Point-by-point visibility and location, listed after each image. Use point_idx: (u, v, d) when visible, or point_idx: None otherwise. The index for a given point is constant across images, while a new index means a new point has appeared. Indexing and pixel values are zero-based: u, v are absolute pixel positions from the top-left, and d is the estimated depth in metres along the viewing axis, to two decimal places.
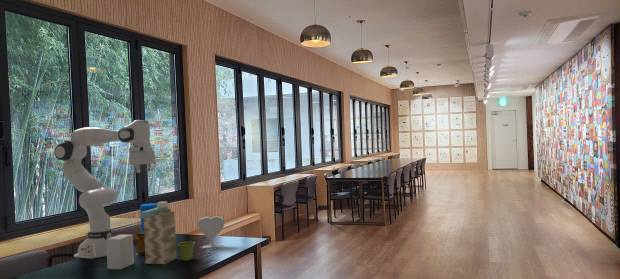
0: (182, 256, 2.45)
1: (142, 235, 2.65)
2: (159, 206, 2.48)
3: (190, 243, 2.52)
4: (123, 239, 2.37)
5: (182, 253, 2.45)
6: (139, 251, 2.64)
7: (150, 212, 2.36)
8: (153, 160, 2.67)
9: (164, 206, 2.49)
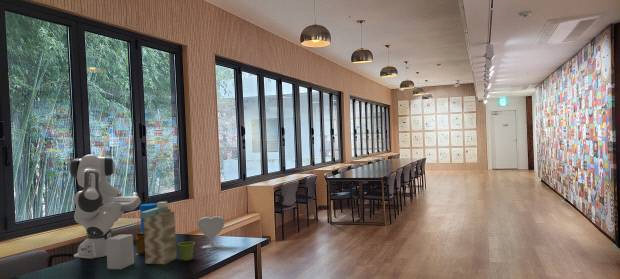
0: (182, 256, 2.45)
1: (142, 235, 2.65)
2: (159, 206, 2.48)
3: (190, 243, 2.52)
4: (123, 239, 2.37)
5: (182, 253, 2.45)
6: (139, 251, 2.64)
7: (150, 212, 2.36)
8: None
9: (164, 206, 2.49)
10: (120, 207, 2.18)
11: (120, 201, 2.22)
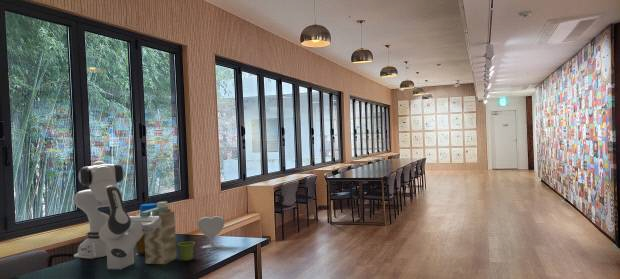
0: (182, 256, 2.45)
1: None
2: (159, 206, 2.48)
3: (190, 243, 2.52)
4: None
5: (182, 253, 2.45)
6: (139, 251, 2.64)
7: None
8: None
9: (164, 206, 2.49)
10: (142, 227, 2.25)
11: (141, 221, 2.29)
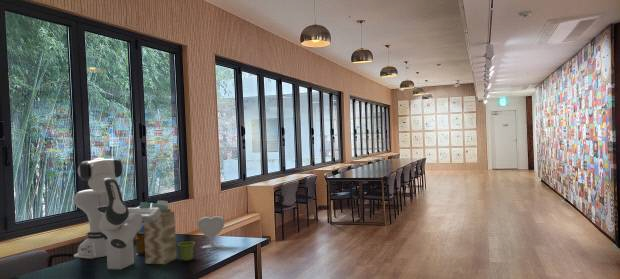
0: (182, 256, 2.45)
1: (142, 235, 2.65)
2: (159, 204, 2.48)
3: (190, 243, 2.52)
4: None
5: (182, 253, 2.45)
6: (139, 251, 2.64)
7: None
8: None
9: (164, 205, 2.49)
10: (141, 218, 2.25)
11: (141, 212, 2.29)
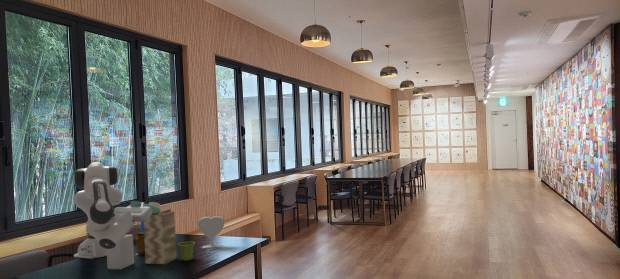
0: (182, 256, 2.45)
1: (142, 235, 2.65)
2: (151, 205, 2.40)
3: (190, 243, 2.52)
4: (123, 239, 2.37)
5: (182, 253, 2.45)
6: (139, 251, 2.64)
7: None
8: None
9: (156, 206, 2.41)
10: (132, 218, 2.17)
11: (132, 211, 2.21)
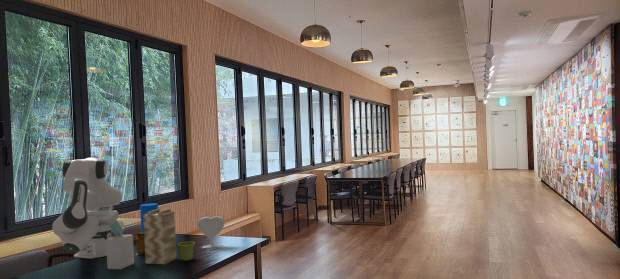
0: (182, 256, 2.45)
1: (142, 235, 2.65)
2: None
3: (190, 243, 2.52)
4: (123, 239, 2.37)
5: (182, 253, 2.45)
6: (139, 251, 2.64)
7: None
8: None
9: (121, 226, 2.42)
10: (98, 222, 2.19)
11: (98, 215, 2.23)
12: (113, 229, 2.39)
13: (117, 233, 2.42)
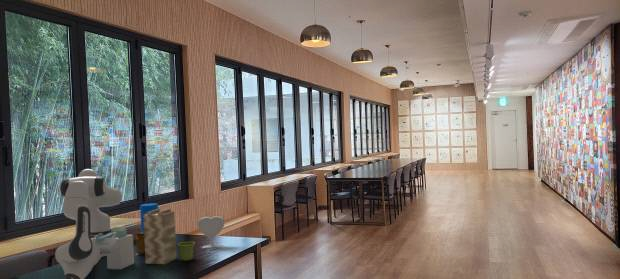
0: (182, 256, 2.45)
1: (142, 235, 2.65)
2: (117, 230, 2.39)
3: (190, 243, 2.52)
4: (123, 239, 2.37)
5: (182, 253, 2.45)
6: (139, 251, 2.64)
7: (107, 237, 2.28)
8: None
9: (122, 230, 2.41)
10: (99, 250, 2.19)
11: (100, 243, 2.23)
12: None
13: None
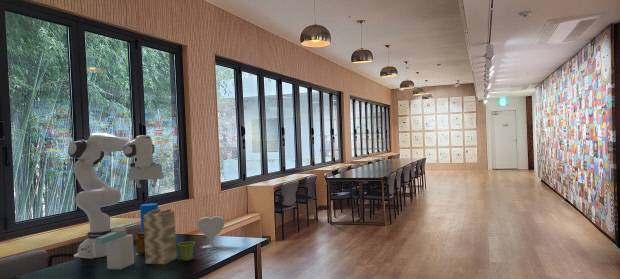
0: (182, 256, 2.45)
1: (142, 235, 2.65)
2: (117, 230, 2.39)
3: (190, 243, 2.52)
4: (123, 239, 2.37)
5: (182, 253, 2.45)
6: (139, 251, 2.64)
7: (107, 237, 2.28)
8: (155, 176, 2.57)
9: (122, 230, 2.41)
10: None
11: None
12: None
13: None
